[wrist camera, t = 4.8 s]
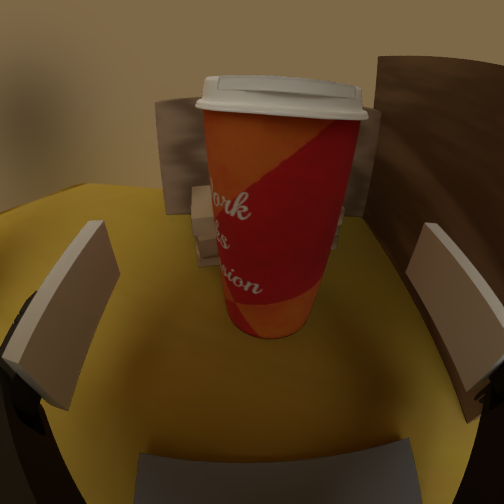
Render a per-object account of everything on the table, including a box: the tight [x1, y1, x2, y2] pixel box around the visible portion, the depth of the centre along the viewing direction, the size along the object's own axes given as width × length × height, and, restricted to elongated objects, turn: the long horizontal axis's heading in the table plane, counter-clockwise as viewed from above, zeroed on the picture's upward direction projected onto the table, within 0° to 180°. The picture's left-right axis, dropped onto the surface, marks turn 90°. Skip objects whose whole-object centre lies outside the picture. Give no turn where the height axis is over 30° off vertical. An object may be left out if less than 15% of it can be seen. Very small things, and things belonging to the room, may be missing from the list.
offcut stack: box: [190, 185, 345, 267], centre depth 24 cm, size 12×7×4 cm, turn 103°
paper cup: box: [195, 75, 369, 339], centre depth 14 cm, size 8×8×14 cm
